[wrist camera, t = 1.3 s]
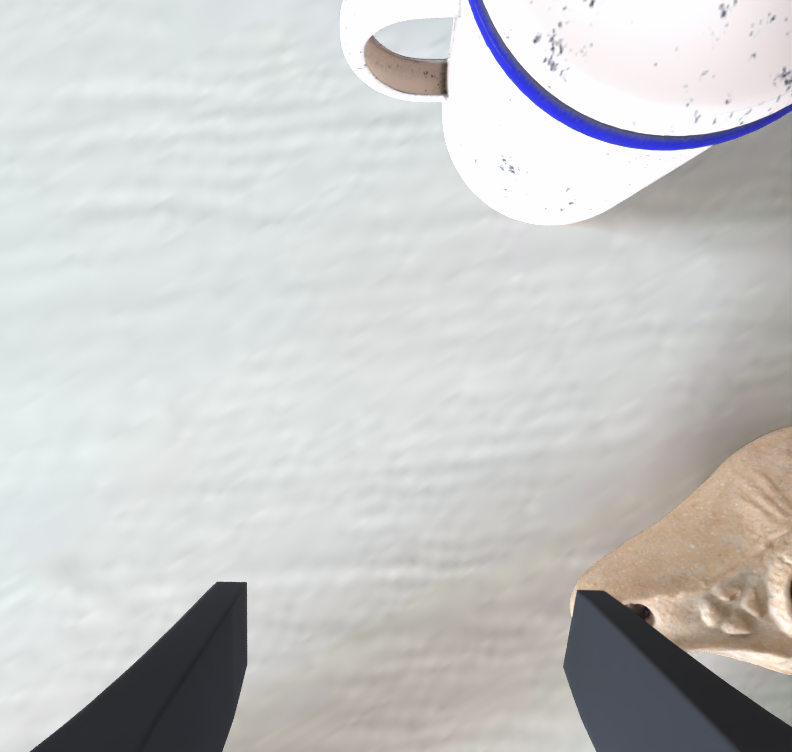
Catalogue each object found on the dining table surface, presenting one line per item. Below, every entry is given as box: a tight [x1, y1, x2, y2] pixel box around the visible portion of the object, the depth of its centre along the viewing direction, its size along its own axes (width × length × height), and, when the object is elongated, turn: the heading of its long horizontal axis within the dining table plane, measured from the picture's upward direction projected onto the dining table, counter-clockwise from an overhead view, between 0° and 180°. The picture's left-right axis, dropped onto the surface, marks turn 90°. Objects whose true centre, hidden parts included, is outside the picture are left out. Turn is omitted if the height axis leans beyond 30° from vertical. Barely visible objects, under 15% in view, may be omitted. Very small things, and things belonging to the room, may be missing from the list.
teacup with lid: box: [340, 0, 792, 225], centre depth 12 cm, size 12×9×12 cm
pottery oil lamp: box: [570, 426, 792, 675], centre depth 16 cm, size 9×12×7 cm
